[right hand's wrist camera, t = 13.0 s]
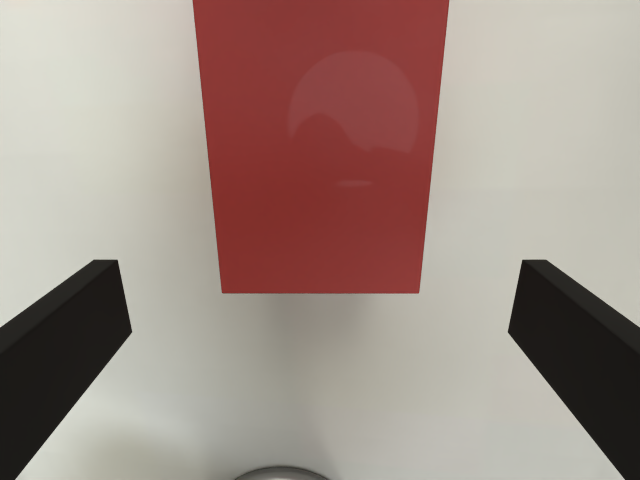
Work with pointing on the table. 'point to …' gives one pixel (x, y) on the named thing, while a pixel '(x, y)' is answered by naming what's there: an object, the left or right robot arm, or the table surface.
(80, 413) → the table surface
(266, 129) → the cabinet
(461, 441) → the table surface
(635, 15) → the table surface
